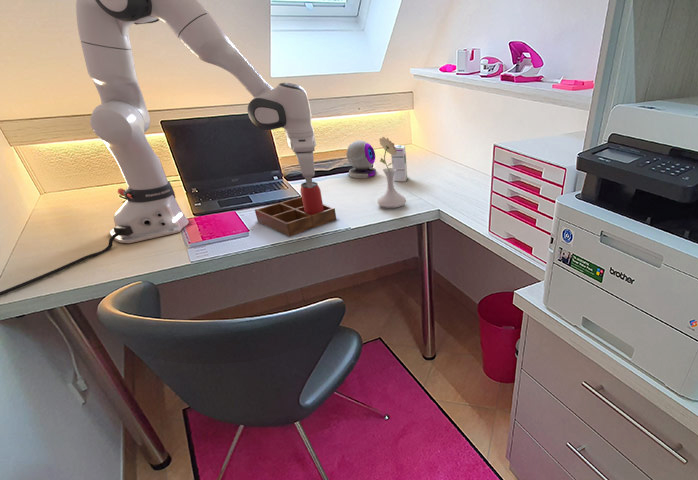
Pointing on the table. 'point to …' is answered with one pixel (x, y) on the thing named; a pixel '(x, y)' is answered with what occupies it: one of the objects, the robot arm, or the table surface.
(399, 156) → the syrup box
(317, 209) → the beer can
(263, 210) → the tray
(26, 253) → the table surface
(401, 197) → the flower in vase
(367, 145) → the webcam
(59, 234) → the table surface
